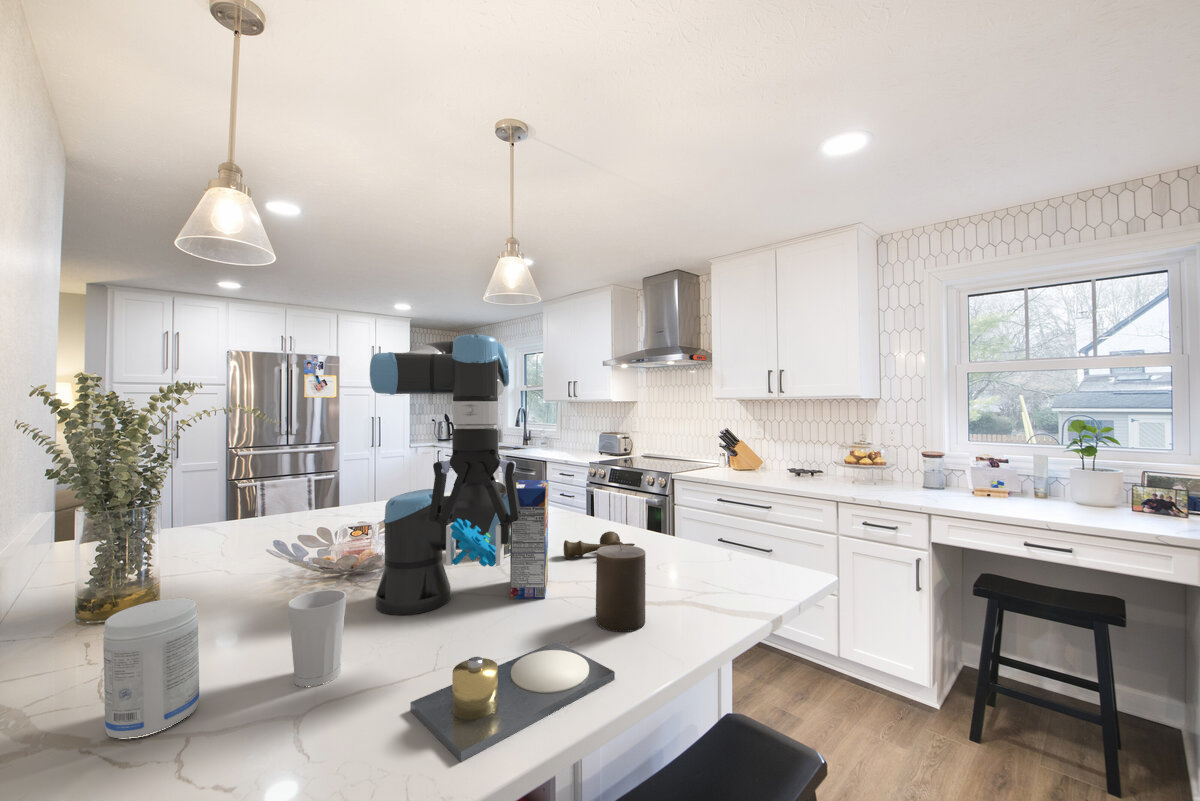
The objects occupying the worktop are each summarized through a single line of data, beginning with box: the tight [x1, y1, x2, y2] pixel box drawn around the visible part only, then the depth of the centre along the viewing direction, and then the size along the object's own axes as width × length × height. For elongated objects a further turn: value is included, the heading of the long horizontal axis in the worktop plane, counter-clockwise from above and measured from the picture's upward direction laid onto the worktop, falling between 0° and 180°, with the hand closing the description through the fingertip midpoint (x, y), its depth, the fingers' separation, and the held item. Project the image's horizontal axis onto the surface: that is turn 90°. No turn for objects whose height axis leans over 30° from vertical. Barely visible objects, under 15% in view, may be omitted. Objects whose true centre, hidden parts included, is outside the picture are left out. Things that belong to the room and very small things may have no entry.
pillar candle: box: [595, 544, 646, 632], centre depth 99 cm, size 10×10×15 cm
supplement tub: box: [102, 597, 200, 739], centre depth 69 cm, size 10×10×15 cm
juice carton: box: [509, 479, 549, 600], centre depth 116 cm, size 12×8×24 cm, turn 3°
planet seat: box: [511, 650, 589, 693], centre depth 79 cm, size 12×12×1 cm
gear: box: [450, 518, 496, 567], centre depth 86 cm, size 11×6×10 cm
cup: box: [287, 589, 348, 688], centre depth 80 cm, size 8×8×12 cm
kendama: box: [563, 530, 636, 560], centre depth 141 cm, size 6×10×20 cm
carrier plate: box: [409, 640, 616, 763], centre depth 74 cm, size 26×14×7 cm, turn 134°
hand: (475, 563), depth 86 cm, fingers closed on gear, 8 cm apart
